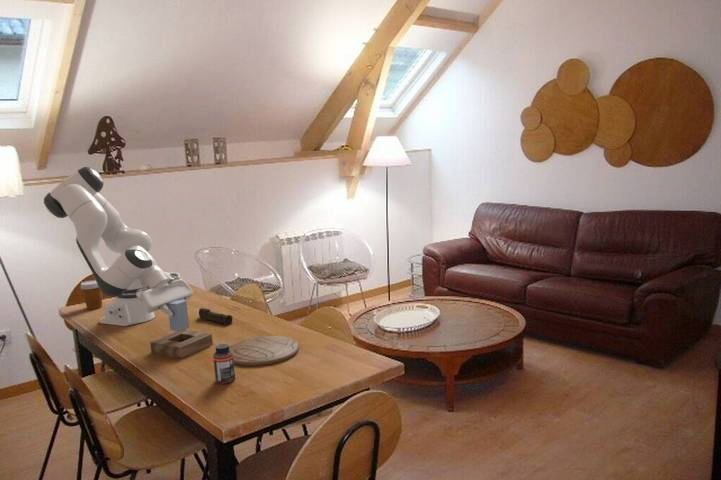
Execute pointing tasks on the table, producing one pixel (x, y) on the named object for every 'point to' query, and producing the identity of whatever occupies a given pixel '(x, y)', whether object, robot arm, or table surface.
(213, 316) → the hand tool
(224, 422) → the table surface
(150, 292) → the robot arm
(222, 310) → the table surface
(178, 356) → the walnut holder
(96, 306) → the disposable coffee cup
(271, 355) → the trivet
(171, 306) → the square post
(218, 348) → the supplement bottle
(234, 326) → the table surface
